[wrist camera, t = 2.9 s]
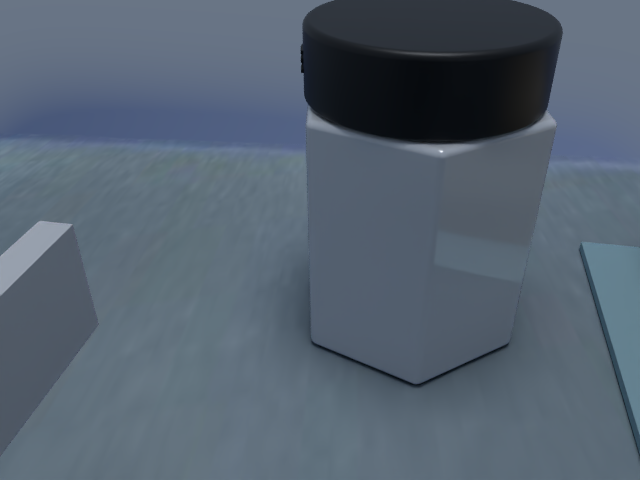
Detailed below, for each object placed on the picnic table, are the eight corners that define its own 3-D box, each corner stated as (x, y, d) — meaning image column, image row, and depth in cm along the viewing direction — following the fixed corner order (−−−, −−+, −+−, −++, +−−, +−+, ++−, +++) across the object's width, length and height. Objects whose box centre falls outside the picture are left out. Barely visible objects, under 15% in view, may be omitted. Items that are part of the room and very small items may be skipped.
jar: (429, 235, 31) (456, -20, 24) (553, 329, 25) (633, 25, 18) (267, 289, 27) (247, 7, 21) (366, 415, 21) (383, 74, 15)
